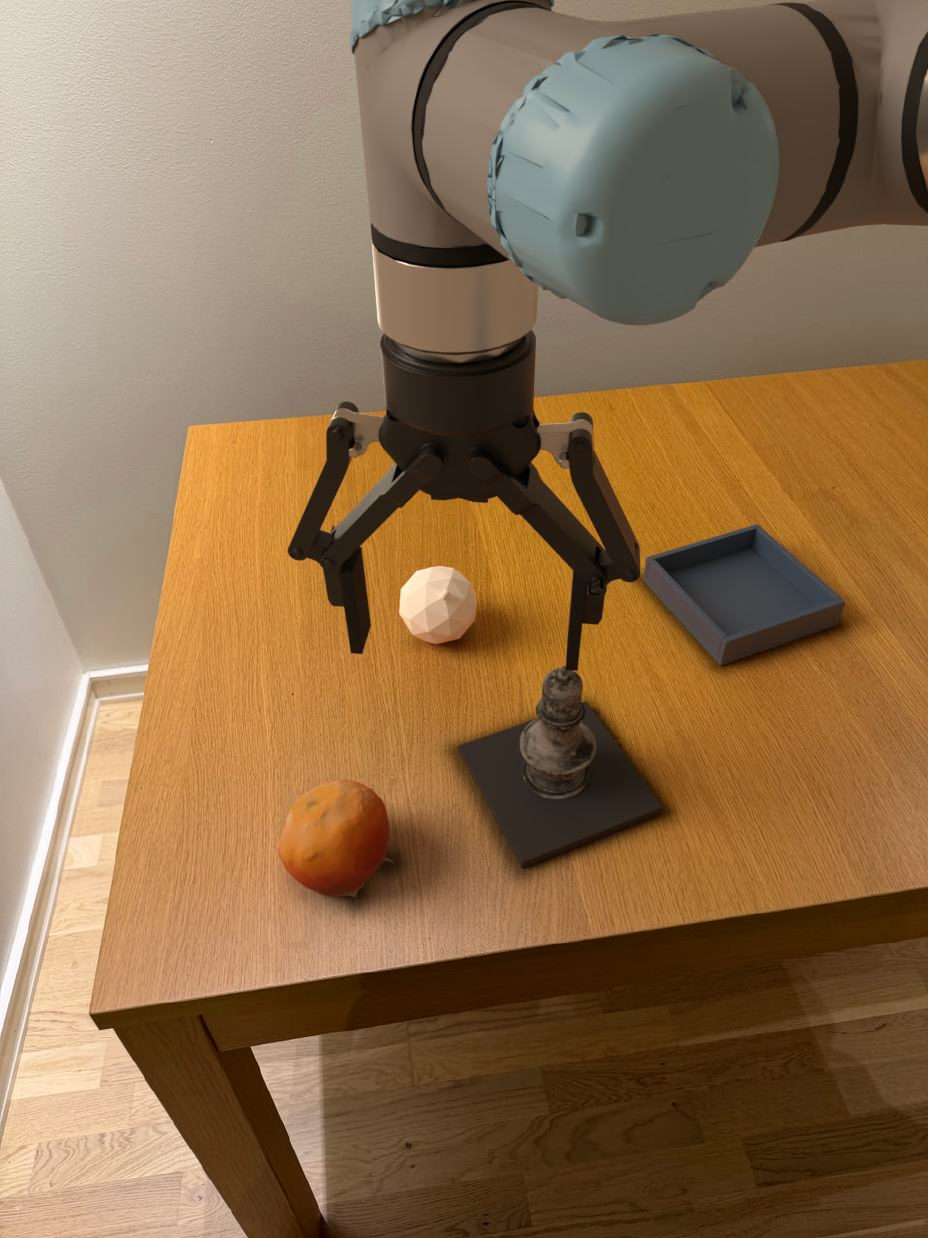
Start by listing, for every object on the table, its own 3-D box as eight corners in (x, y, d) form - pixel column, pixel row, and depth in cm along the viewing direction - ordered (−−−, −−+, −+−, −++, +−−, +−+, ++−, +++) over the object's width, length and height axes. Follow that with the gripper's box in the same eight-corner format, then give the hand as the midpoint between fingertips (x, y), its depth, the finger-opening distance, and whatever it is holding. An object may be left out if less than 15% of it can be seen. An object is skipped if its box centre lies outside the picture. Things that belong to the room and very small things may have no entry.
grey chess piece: (513, 747, 72) (516, 641, 64) (584, 740, 73) (596, 634, 65) (524, 806, 68) (529, 701, 60) (600, 799, 69) (615, 692, 60)
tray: (837, 625, 84) (846, 601, 82) (720, 666, 80) (726, 642, 78) (751, 546, 93) (757, 523, 91) (642, 580, 89) (646, 557, 87)
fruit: (374, 932, 60) (311, 849, 57) (302, 917, 65) (241, 841, 62) (435, 842, 65) (381, 761, 62) (364, 836, 70) (311, 761, 67)
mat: (661, 813, 68) (663, 807, 68) (521, 869, 65) (522, 863, 65) (586, 707, 77) (586, 701, 76) (458, 751, 73) (457, 745, 73)
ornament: (484, 608, 86) (501, 588, 78) (436, 665, 84) (449, 651, 77) (428, 561, 86) (440, 537, 78) (379, 618, 84) (387, 599, 76)
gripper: (718, 304, 44) (661, 621, 58) (230, 288, 46) (291, 595, 61) (732, 376, 38) (666, 706, 53) (179, 353, 41) (259, 673, 55)
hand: (465, 647), depth 57 cm, fingers open, 13 cm apart
